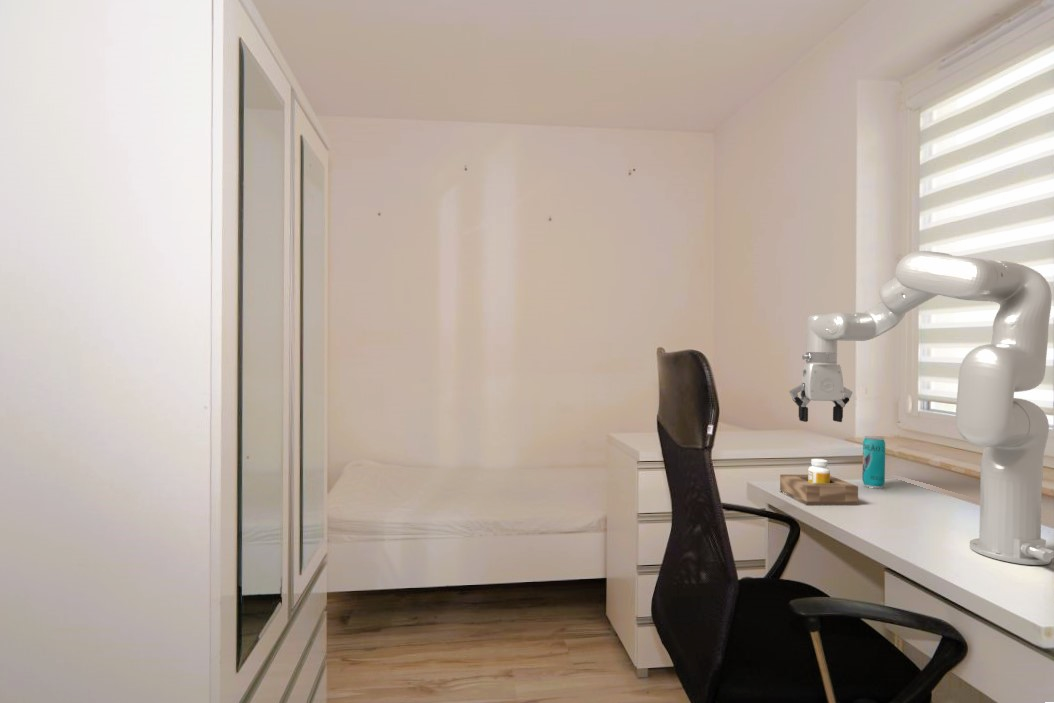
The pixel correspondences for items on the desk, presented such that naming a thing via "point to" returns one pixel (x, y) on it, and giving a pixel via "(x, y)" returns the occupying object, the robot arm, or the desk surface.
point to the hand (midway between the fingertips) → (820, 421)
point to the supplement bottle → (819, 471)
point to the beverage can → (873, 461)
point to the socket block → (819, 491)
